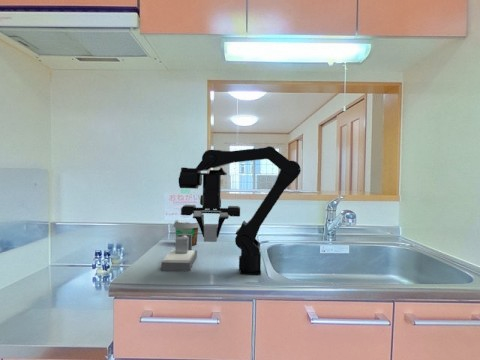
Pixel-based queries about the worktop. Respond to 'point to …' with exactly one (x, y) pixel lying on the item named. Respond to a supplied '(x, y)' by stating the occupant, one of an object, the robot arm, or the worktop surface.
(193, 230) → the food container
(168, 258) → the scale
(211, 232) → the block
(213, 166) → the robot arm
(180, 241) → the block
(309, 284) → the worktop surface
